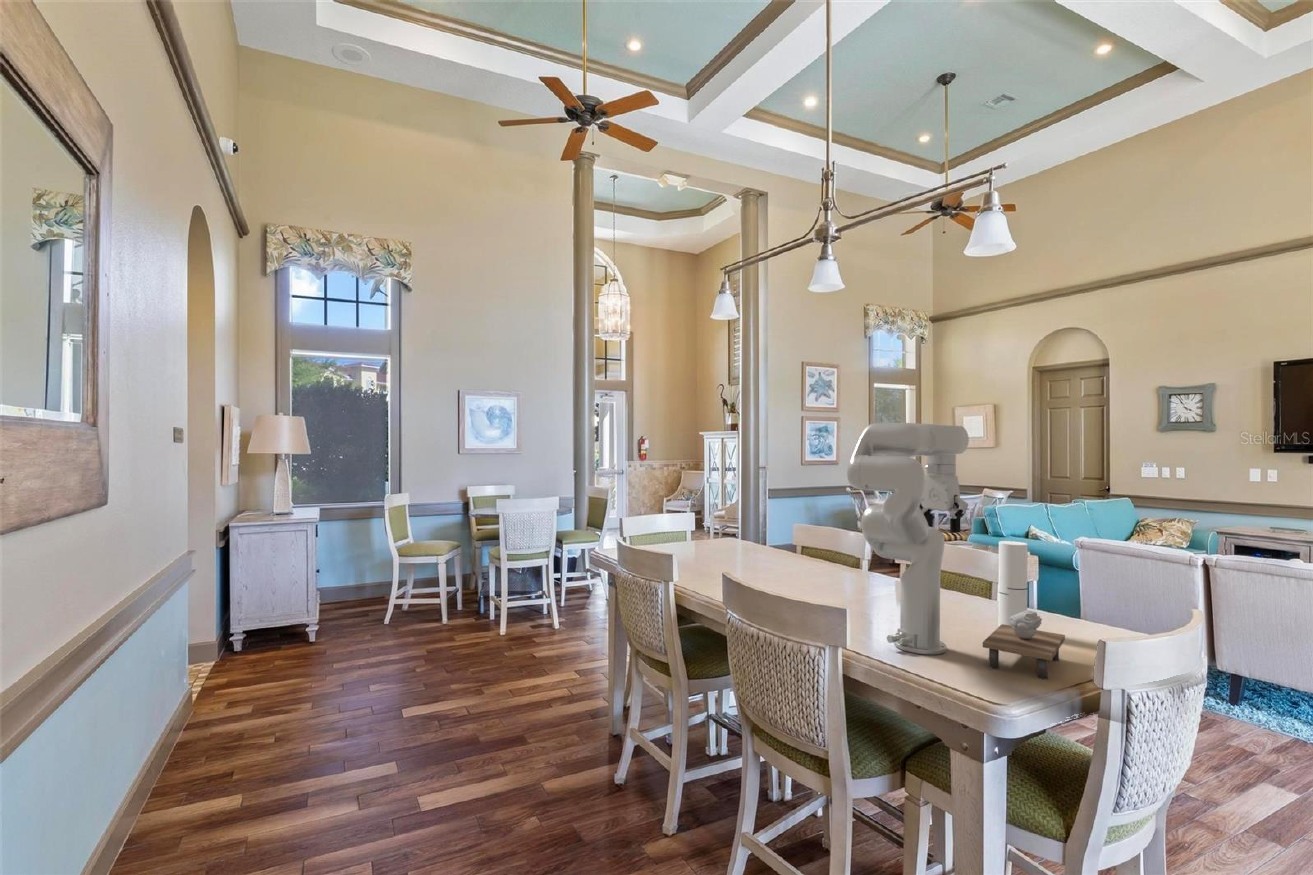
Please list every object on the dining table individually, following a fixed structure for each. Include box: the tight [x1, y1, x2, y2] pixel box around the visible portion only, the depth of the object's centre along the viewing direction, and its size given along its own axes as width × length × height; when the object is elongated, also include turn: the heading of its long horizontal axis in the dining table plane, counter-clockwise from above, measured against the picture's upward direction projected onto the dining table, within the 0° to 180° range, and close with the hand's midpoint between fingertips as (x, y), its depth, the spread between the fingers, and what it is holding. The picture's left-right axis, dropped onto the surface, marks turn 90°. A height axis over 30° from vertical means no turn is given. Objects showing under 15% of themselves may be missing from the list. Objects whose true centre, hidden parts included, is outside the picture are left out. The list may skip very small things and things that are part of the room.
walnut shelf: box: [982, 624, 1066, 680], centre depth 154 cm, size 20×14×6 cm
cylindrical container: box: [997, 540, 1029, 628], centre depth 180 cm, size 7×7×25 cm
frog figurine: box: [1010, 609, 1043, 639], centre depth 154 cm, size 6×7×7 cm
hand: (941, 530), depth 181 cm, fingers open, 9 cm apart
